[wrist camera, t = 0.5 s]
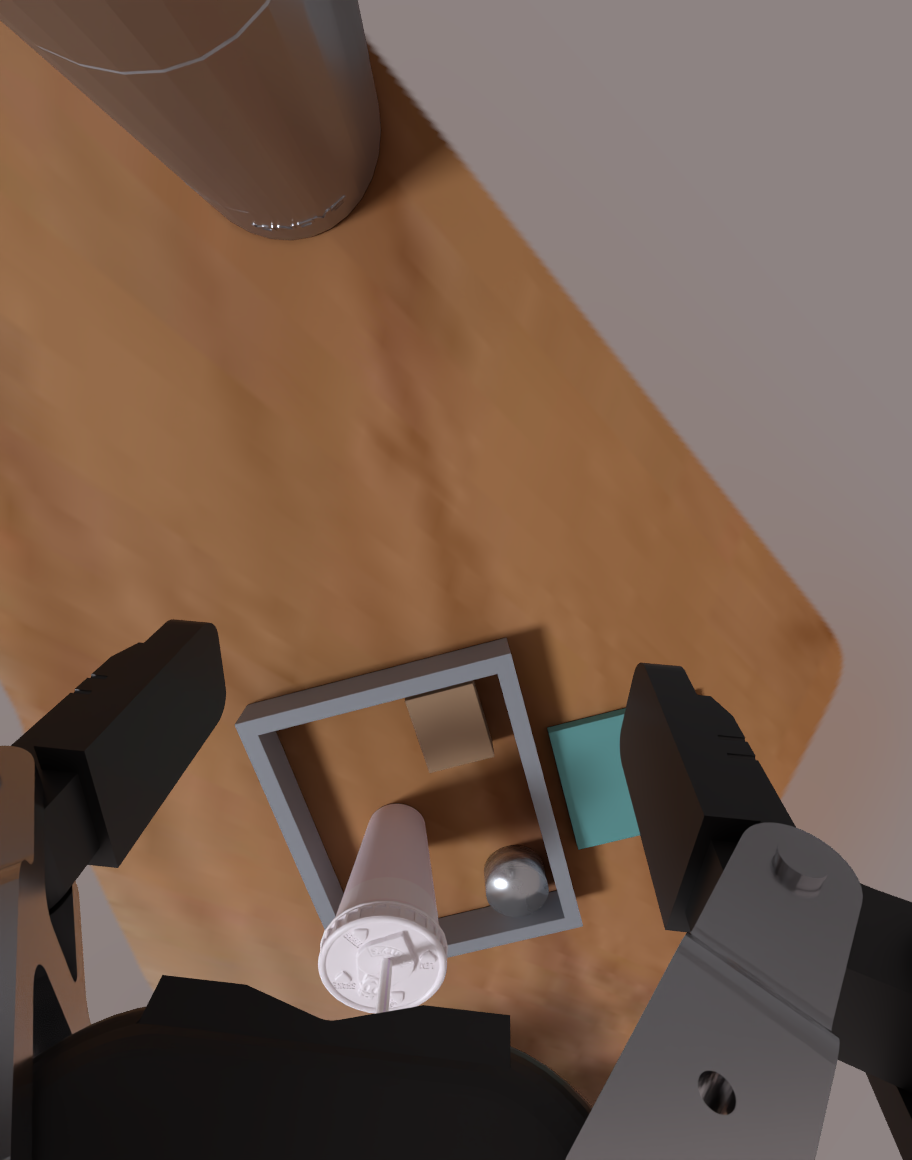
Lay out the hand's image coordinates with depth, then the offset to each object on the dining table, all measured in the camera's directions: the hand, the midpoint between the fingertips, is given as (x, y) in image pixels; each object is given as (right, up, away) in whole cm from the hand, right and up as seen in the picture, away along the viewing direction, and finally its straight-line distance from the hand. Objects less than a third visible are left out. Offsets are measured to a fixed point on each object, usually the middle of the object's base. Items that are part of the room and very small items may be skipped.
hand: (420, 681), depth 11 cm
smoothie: (-3, -14, +26) cm, 30 cm away
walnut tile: (0, -6, +24) cm, 25 cm away
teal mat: (+12, -10, +25) cm, 30 cm away
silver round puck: (+5, -18, +27) cm, 33 cm away
